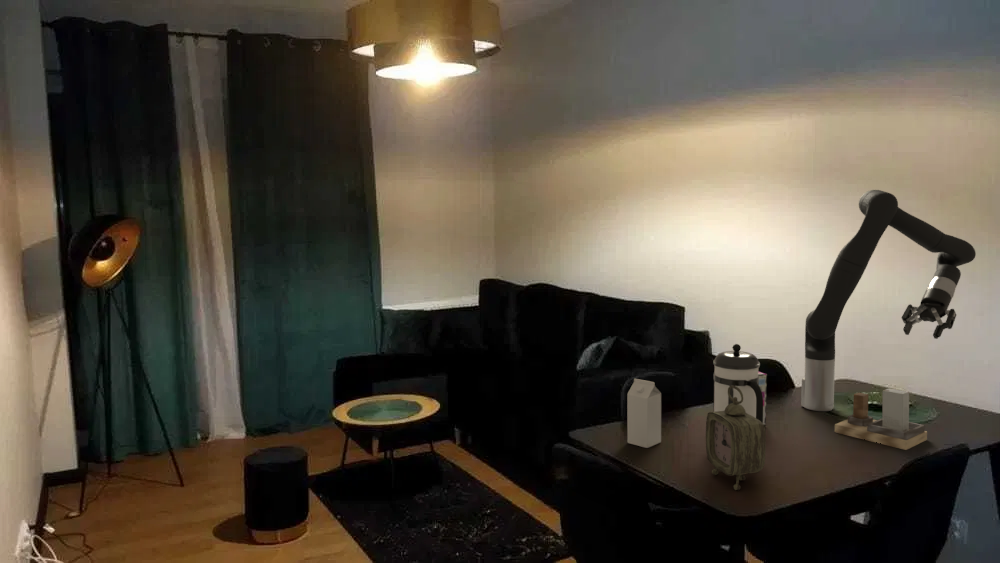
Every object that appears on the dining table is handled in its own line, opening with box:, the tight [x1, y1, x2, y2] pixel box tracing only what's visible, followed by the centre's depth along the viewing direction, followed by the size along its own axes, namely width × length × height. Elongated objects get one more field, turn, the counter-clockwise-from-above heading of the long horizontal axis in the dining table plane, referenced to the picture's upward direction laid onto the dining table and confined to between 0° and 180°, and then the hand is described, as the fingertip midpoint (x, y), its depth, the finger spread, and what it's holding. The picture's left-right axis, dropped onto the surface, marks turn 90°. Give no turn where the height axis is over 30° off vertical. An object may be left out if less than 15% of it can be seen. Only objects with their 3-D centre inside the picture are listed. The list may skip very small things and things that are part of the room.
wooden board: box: [834, 392, 928, 451], centre depth 224 cm, size 21×13×12 cm, turn 38°
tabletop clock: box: [705, 386, 767, 491], centre depth 192 cm, size 14×9×25 cm, turn 13°
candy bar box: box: [758, 370, 768, 426], centre depth 241 cm, size 11×5×16 cm, turn 16°
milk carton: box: [626, 378, 662, 449], centre depth 223 cm, size 7×7×19 cm
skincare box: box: [881, 387, 910, 432], centre depth 221 cm, size 6×4×12 cm
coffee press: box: [712, 343, 763, 423], centre depth 217 cm, size 17×16×30 cm
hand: (920, 335), depth 233 cm, fingers open, 8 cm apart
